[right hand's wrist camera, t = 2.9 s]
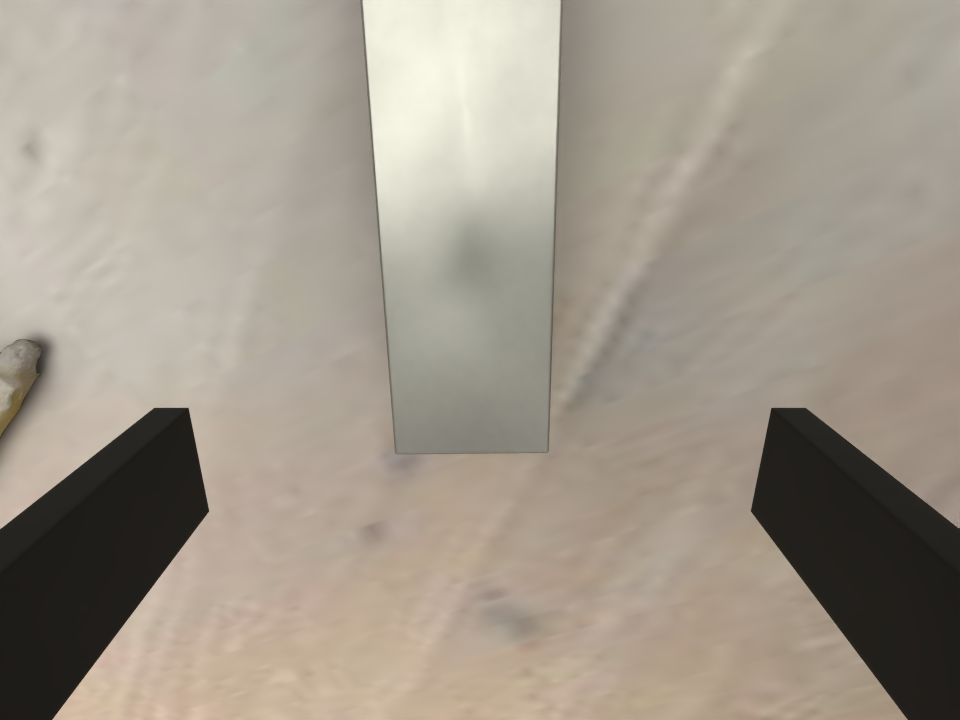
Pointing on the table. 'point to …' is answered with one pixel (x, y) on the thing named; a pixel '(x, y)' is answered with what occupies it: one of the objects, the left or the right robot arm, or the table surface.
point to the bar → (466, 216)
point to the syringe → (16, 377)
